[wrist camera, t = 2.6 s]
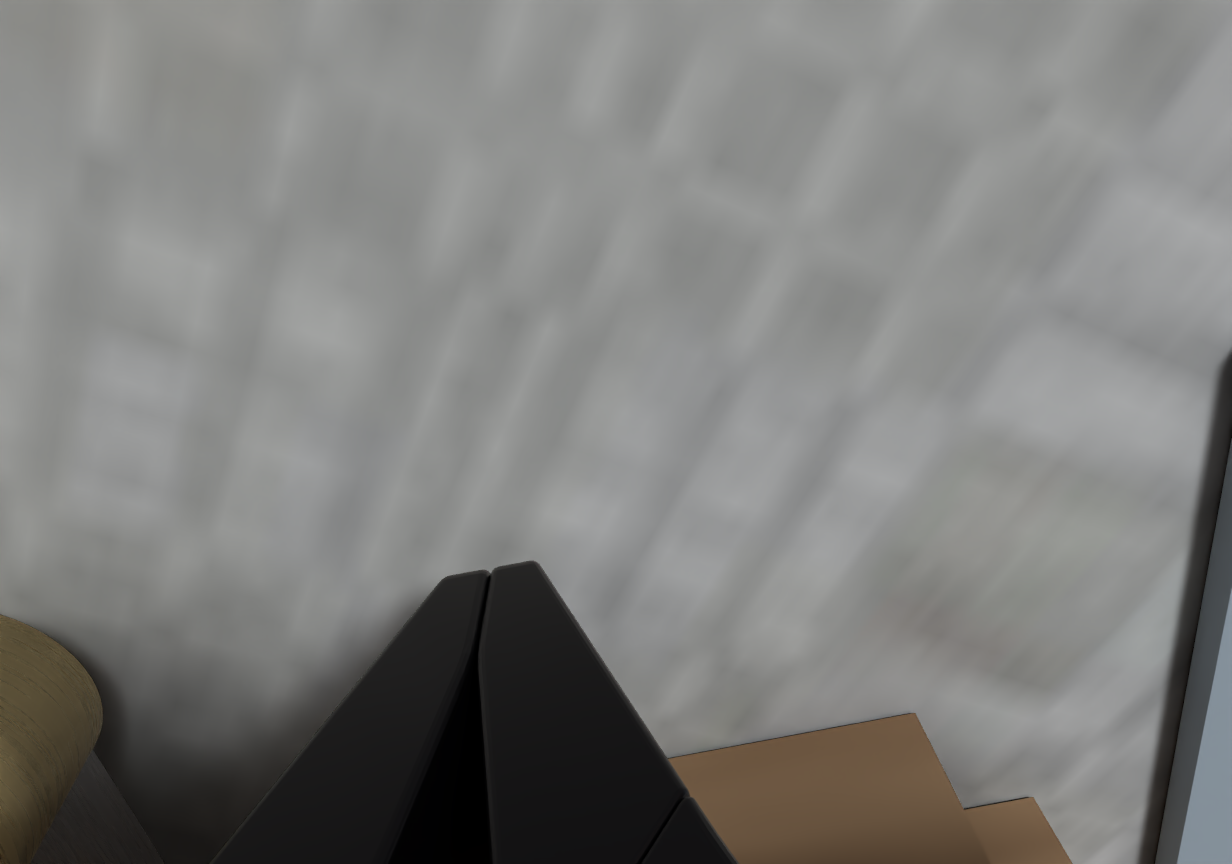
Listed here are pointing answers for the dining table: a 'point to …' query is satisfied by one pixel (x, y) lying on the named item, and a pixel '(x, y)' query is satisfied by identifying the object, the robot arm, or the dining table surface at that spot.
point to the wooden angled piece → (857, 802)
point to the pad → (1206, 721)
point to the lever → (57, 762)
